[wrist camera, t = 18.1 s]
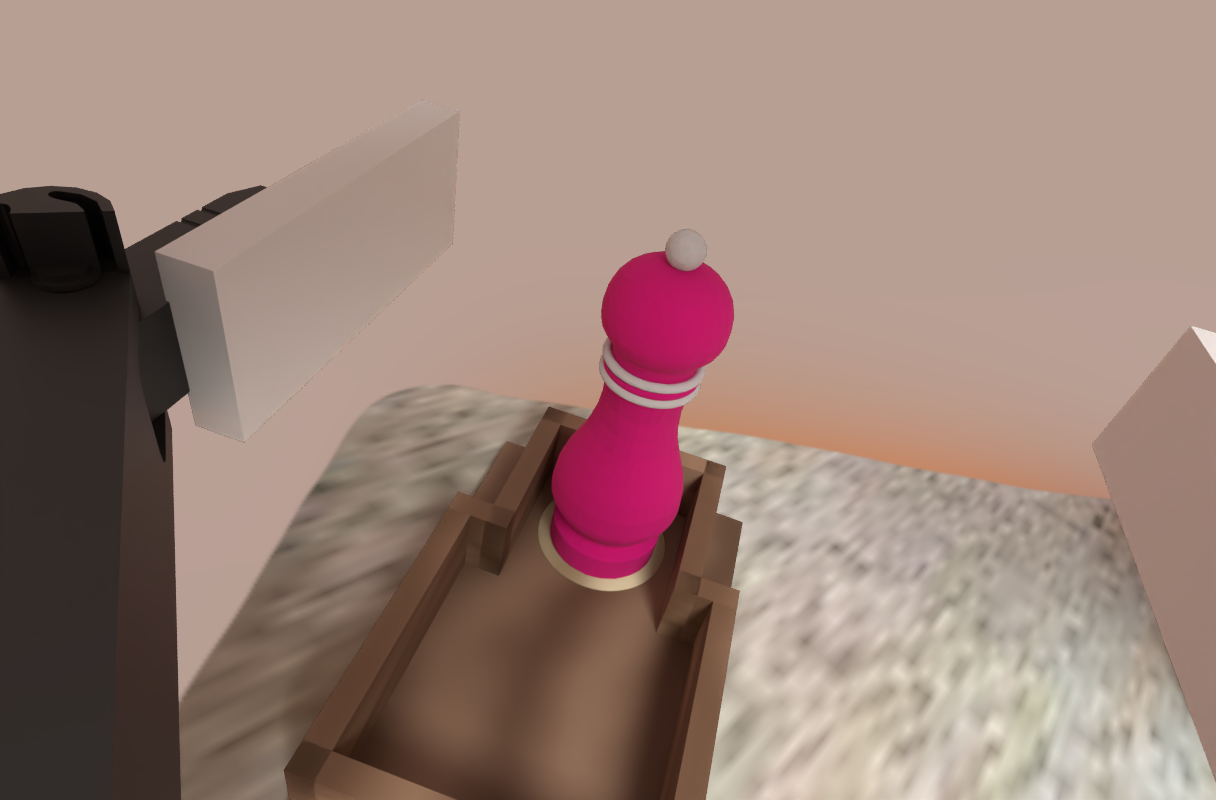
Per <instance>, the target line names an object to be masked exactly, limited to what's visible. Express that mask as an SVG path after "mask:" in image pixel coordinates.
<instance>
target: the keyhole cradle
mask: <svg viewBox="0 0 1216 800" xmlns="http://www.w3.org/2000/svg"><path fill="white" fill-rule="evenodd" d="M586 420H587V419H584V418H581V417H578V416H575V415H572V414H569V413H566V412H563V411H560V410H557V409H554V408H551V407H548V409H547V411H546V412H545V414H544V416H543V418H542V420H541V421H540V423H539V425H538V427H537V429H536V430H535V432H534V434H533V436H532V437H531V439H530V441H529V443H528V445H527V446H526V448H525V447H522V446H519V445H516V444H513V443H510V442H506V444H505V446H504V447H503V449H502V451H501V452H500V454H499V456H498V457H497V459H496V461H495V462H494V464H493V466H492V467H491V469H490V471H489V472H488V474H487V476H486V477H485V479H484V481H483V482H482V484H481V486H480V487H479V489H478V491H477V492H476V494H475V496H474V497H471V496H469V495H466V494H463V493H460V492H458V494H457V495H456V497H455V498H454V500H453V502H452V503H451V505H450V506H449V508H448V509H447V511H446V513H445V514H444V516H443V517H442V519H441V521H440V522H439V524H438V525H437V527H436V529H435V530H434V532H433V533H432V535H431V537H430V538H429V540H428V541H427V543H426V545H425V546H424V548H423V549H422V551H421V553H420V554H419V556H418V557H417V559H416V560H415V562H414V564H413V565H412V567H411V568H410V570H409V572H408V573H407V575H406V576H405V578H404V580H403V581H402V583H401V584H400V586H399V588H398V589H397V591H396V592H395V594H394V596H393V597H392V599H391V600H390V602H389V604H388V605H387V607H386V608H385V610H384V611H383V613H382V615H381V616H380V618H379V619H378V621H377V623H376V624H375V626H374V627H373V629H372V631H371V632H370V634H369V635H368V637H367V639H366V640H365V642H364V643H363V645H362V647H361V648H360V650H359V651H358V653H357V654H356V656H355V658H354V659H353V661H352V662H351V664H350V666H349V667H348V669H347V670H346V672H345V674H344V675H343V677H342V678H341V680H340V682H339V683H338V685H337V686H336V688H335V690H334V691H333V693H332V694H331V696H330V698H329V699H328V701H327V702H326V704H325V705H324V707H323V709H322V710H321V712H320V713H319V715H318V717H317V718H316V720H315V721H314V723H313V725H312V726H311V728H310V729H309V731H308V733H307V734H306V736H305V737H304V739H303V741H302V742H301V744H300V745H299V747H298V748H297V750H296V752H295V753H294V755H293V756H292V758H291V760H290V761H289V763H288V764H287V766H286V768H285V769H284V773H285V778H286V784H287V789H288V794H289V800H706V794H707V788H708V781H709V775H710V769H711V763H712V757H713V751H714V745H715V739H716V732H717V726H718V720H719V714H720V708H721V702H722V696H723V690H724V683H725V677H726V671H727V665H728V659H729V653H730V647H731V641H732V634H733V628H734V622H735V616H736V610H737V604H738V598H739V592H740V591H739V590H736V589H733V588H731V585H732V579H733V574H734V568H735V562H736V557H737V551H738V545H739V540H740V534H741V528H742V523H743V522H740V521H737V520H734V519H732V518H729V517H726V516H723V515H720V514H717V513H716V511H717V506H718V502H719V497H720V493H721V488H722V483H723V479H724V474H725V470H726V466H723V465H720V464H718V463H715V462H712V461H709V460H706V459H703V458H700V457H697V456H694V455H691V454H688V453H685V452H682V451H679V452H680V457H681V462H682V467H683V493H682V498H681V502H680V506H679V510H678V513H677V515H676V517H675V519H674V520H673V522H672V523H671V525H670V526H669V527H668V528H667V529H666V530H665V531H664V532H662V533H661V534H660V535H659V538H658V540H657V543H656V546H655V549H654V552H653V554H652V557H651V558H650V560H649V561H648V563H647V564H646V565H645V566H644V567H643V568H642V569H641V570H639V571H637V572H636V573H634V574H632V575H630V576H626V577H622V578H617V579H602V578H597V577H593V576H589V575H585V574H584V573H582V572H580V571H578V570H576V569H575V568H573V567H571V566H570V565H569V564H568V563H567V562H566V561H564V560H563V559H562V557H561V556H560V555H559V554H558V552H557V551H556V549H555V547H554V545H553V543H552V539H551V535H550V526H551V521H552V516H553V512H554V507H555V504H556V503H555V501H554V497H553V493H552V475H553V471H554V468H555V465H556V463H557V460H558V457H559V454H560V452H561V451H562V449H563V447H564V446H565V444H566V443H567V441H568V440H569V438H570V437H571V436H572V435H573V434H574V433H575V432H576V431H577V430H578V429H579V428H580V427H581V425H582V424H583V423H584V422H585V421H586Z"/></svg>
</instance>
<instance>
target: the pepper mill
mask: <svg viewBox="0 0 1216 800" xmlns="http://www.w3.org/2000/svg"><path fill="white" fill-rule="evenodd" d="M706 253H707V246H706V243H705V240H704V239H703V237H702V236H701V235H700V234H699V233H697V232H696V231H694V230H690V229H683V230H679V231H677V232H675V233H674V234H673V235H672V236H671V237H670V238H669V239H668V241H667V243H666V248H665V251H663V252H652V253H647V254H643V255H641V256H638V257H636V258H633V259H632V260H630V261H629V262H627V263H626V264H625V265H623V266H622V267H621V268H620V269H619V270H618V271H617V273H616V274H615V275H614V277H613V278H612V280H611V281H610V283H609V284H608V287H607V290H606V292H605V295H604V298H603V303H602V310H601V314H602V316H601V318H602V324H603V328H604V330H605V332H606V334H607V336H608V338H607V339H606V341H605V343H604V345H603V355H602V356H601V359H600V363H599V370H600V374H601V376H602V378H603V380H604V387H603V391H602V393H601V396H600V399H599V402H598V404H597V406H596V407H595V409H594V410H593V412H592V414H591V415H590V417H589V418H588V419H587V420H586V421H585V422H584V423H583V424H582V425H581V427H580V428H579V429H578V430H577V431H576V432H575V433H574V434H573V435H572V436H571V437H570V438H569V440H568V441H567V443H566V444H565V446H564V447H563V449H562V451H561V452H560V454H559V457H558V460H557V463H556V465H555V468H554V471H553V475H552V493H553V497H554V501H555V503H556V504H555V507H554V512H553V516H552V521H551V526H550V535H551V539H552V543H553V545H554V547H555V549H556V551H557V552H558V554H559V555H560V556H561V557H562V559H563V560H564V561H566V562H567V563H568V564H569V565H570V566H571V567H573V568H575V569H576V570H578V571H580V572H582V573H584V574H585V575H589V576H593V577H597V578H602V579H617V578H622V577H626V576H630V575H632V574H634V573H636V572H637V571H639V570H641V569H642V568H643V567H644V566H645V565H646V564H647V563H648V561H649V560H650V558H651V557H652V554H653V552H654V549H655V546H656V543H657V540H658V538H659V535H660V534H661V533H662V532H664V531H665V530H666V529H667V528H668V527H669V526H670V525H671V523H672V522H673V520H674V519H675V517H676V515H677V513H678V510H679V506H680V502H681V498H682V493H683V467H682V462H681V457H680V452H679V445H678V425H679V420H680V415H681V411H682V409H683V406H684V405H685V404H687V403H689V402H690V401H692V400H693V399H694V398H695V397H696V395H697V394H698V392H699V389H700V382H701V381H702V380H703V378H704V375H705V370H706V368H705V365H707V364H708V363H710V362H712V361H713V360H714V359H715V358H716V357H717V356H718V355H719V354H720V353H721V352H722V351H723V349H724V348H725V346H726V344H727V341H728V339H729V336H730V333H731V330H732V325H733V320H734V309H733V300H732V297H731V294H730V292H729V289H728V287H727V285H726V284H725V282H724V281H723V280H722V278H721V277H720V276H719V274H718V273H716V272H715V271H714V270H713V269H712V268H711V267H709V266H708V265H706V264H705V263H703V261H704V259H705V257H706Z"/></svg>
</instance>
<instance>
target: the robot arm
mask: <svg viewBox="0 0 1216 800" xmlns="http://www.w3.org/2000/svg"><path fill="white" fill-rule="evenodd" d="M459 119H460V111H459V110H456V109H452V108H449V107H445V106H441V105H438V104H435V103H432V102H428V101H425V100H420V101H418V102H417V103H415V104H413V105H411V106H410V107H408V108H406V109H404V110H403V111H401V112H399V113H397V114H396V115H394V116H392V117H391V118H388V119H387V120H385V121H383V122H381V123H380V124H378V125H376V126H374V127H373V128H371V129H369V130H367V131H366V132H364V133H362V134H361V135H359V136H357V137H355V138H353V139H352V140H350V141H348V142H346V143H345V144H343V145H341V146H339V147H338V148H336V149H334V150H332V151H331V152H329V153H327V154H325V155H324V156H322V157H320V158H318V159H316V160H315V161H313V162H311V163H310V164H308V165H306V166H304V167H302V168H301V169H299V170H297V171H295V172H294V173H292V174H290V175H288V176H287V177H285V178H283V179H281V180H280V181H278V182H276V183H274V184H273V185H271V186H269V187H264V186H261V185H260V186H257V187H252V188H248V189H244V190H240V191H236V192H232V193H228V194H226V195H224V196H222V197H220V198H218V199H216V200H214V201H213V202H211V203H209V204H207V205H205V206H203V207H202V210H201V211H199V210H196V211H194V212H192V213H190V214H189V215H187V216H185V217H183V218H182V221H181V222H178V221H176V222H174V223H172V224H170V225H168V226H167V227H165V228H163V229H161V230H159V231H157V232H155V233H154V234H152V235H150V236H148V237H146V238H144V239H143V240H141V241H139V242H137V243H135V244H134V245H132V246H130V247H128V248H126V249H124V245H123V242H122V238H121V234H120V230H119V227H118V223H117V219H116V215H115V211H114V209H113V206H112V204H111V202H110V200H108V199H106V198H104V197H103V196H101V195H100V194H98V193H95V192H92V191H87V190H84V189H80V188H75V187H74V188H73V187H58V186H45V187H34V188H23V189H19V190H16V191H11V192H7V193H3V194H0V800H181V782H180V741H179V701H178V660H177V623H176V622H177V621H176V620H177V619H176V579H175V540H174V539H175V538H174V500H173V499H174V497H173V456H172V428H171V423H170V419H169V416H168V412H167V409H169V408H170V407H171V406H172V405H174V404H175V403H176V402H177V401H179V400H180V399H181V398H182V397H183V396H185V395H186V394H187V393H188V396H189V400H190V404H191V409H192V413H193V417H194V421H195V425H196V426H199V427H202V428H204V429H207V430H210V431H213V432H216V433H218V434H221V435H224V436H227V437H230V438H233V439H235V440H238V441H241V442H244V443H245V442H246V441H247V440H248V439H249V438H250V437H251V436H252V435H253V434H254V433H255V432H256V431H257V430H258V429H259V428H260V427H261V426H262V425H264V424H265V423H266V422H267V421H268V420H269V419H270V418H271V417H272V416H273V415H274V414H275V413H276V412H277V411H278V410H279V409H280V408H281V407H282V406H283V405H284V404H285V403H286V402H288V401H289V400H290V399H291V398H292V397H293V396H294V395H295V394H296V393H297V392H298V391H299V390H300V389H301V388H302V387H303V386H304V385H305V384H307V383H308V382H309V381H310V379H312V378H313V377H314V376H315V375H316V374H317V373H318V372H319V371H320V370H321V369H322V368H323V367H324V366H325V365H326V364H327V363H328V362H329V361H331V360H332V359H333V358H334V357H335V356H336V355H337V354H338V353H339V352H340V351H341V350H342V349H343V348H344V347H345V346H346V345H347V344H348V343H349V342H350V341H351V340H352V339H354V338H355V337H356V336H357V335H358V334H359V333H360V332H361V331H362V330H363V329H364V328H365V327H366V326H367V325H368V324H369V323H370V322H371V321H372V320H373V319H374V318H376V316H378V315H379V314H380V313H381V312H382V311H383V310H384V309H385V308H386V307H387V306H388V305H389V304H390V303H391V302H392V301H393V300H394V299H395V298H396V297H398V296H399V295H400V294H401V293H402V292H403V291H404V290H405V289H406V288H407V287H408V286H409V285H410V284H411V283H412V282H413V281H414V280H415V279H416V278H417V277H418V276H419V275H420V274H422V273H423V272H424V271H425V270H426V269H427V268H428V267H429V266H430V265H431V264H432V263H433V262H434V261H435V260H436V259H437V258H438V257H439V256H440V255H441V254H443V253H444V252H445V251H446V250H447V249H448V248H449V247H450V246H451V245H452V244H453V231H454V212H455V194H456V174H457V157H458V138H459ZM1092 446H1093V449H1094V452H1095V454H1096V457H1097V460H1098V463H1099V465H1100V468H1101V471H1102V473H1103V476H1104V479H1105V482H1106V484H1107V487H1108V490H1109V493H1110V495H1111V498H1112V501H1113V504H1114V506H1115V509H1116V512H1117V514H1118V517H1119V520H1120V523H1121V525H1122V528H1123V531H1124V534H1125V536H1126V539H1127V542H1128V544H1129V547H1130V550H1131V553H1132V555H1133V558H1134V561H1135V564H1136V566H1137V569H1138V572H1139V574H1140V577H1141V580H1142V583H1143V585H1144V588H1145V591H1146V593H1147V596H1148V599H1149V602H1150V604H1151V607H1152V610H1153V613H1154V615H1155V618H1156V621H1157V623H1158V626H1159V629H1160V632H1161V634H1162V637H1163V640H1164V643H1165V645H1166V648H1167V651H1168V653H1169V656H1170V659H1171V662H1172V664H1173V667H1174V670H1175V673H1176V675H1177V678H1178V681H1179V683H1180V686H1181V689H1182V692H1183V694H1184V697H1185V700H1186V703H1187V705H1188V708H1189V711H1190V713H1191V716H1192V719H1193V722H1194V724H1195V727H1196V730H1197V733H1198V735H1199V738H1200V741H1201V743H1202V746H1203V749H1204V752H1205V754H1206V757H1207V760H1208V762H1209V765H1210V768H1211V771H1212V773H1213V776H1214V779H1215V782H1216V333H1213V332H1210V331H1206V330H1203V329H1200V328H1196V327H1193V326H1190V327H1189V328H1188V330H1187V331H1186V332H1185V333H1184V334H1183V336H1182V337H1181V338H1180V339H1179V340H1178V342H1177V343H1176V344H1175V345H1174V346H1173V348H1172V349H1171V350H1170V351H1169V352H1168V354H1167V355H1166V356H1165V357H1164V359H1163V360H1162V361H1161V362H1160V363H1159V365H1158V366H1157V367H1156V368H1155V369H1154V371H1153V372H1152V373H1151V374H1150V375H1149V376H1148V378H1147V379H1146V380H1145V381H1144V382H1143V384H1142V385H1141V386H1140V387H1139V388H1138V390H1137V391H1136V392H1135V393H1134V394H1133V396H1132V397H1131V398H1130V399H1129V401H1128V402H1127V403H1126V404H1125V405H1124V407H1123V408H1122V409H1121V410H1120V411H1119V413H1118V414H1117V415H1116V416H1115V417H1114V419H1113V420H1112V421H1111V422H1110V423H1109V425H1108V426H1107V427H1106V428H1105V429H1104V431H1103V432H1102V433H1101V434H1100V435H1099V437H1098V438H1097V439H1096V440H1095V441H1094V443H1093V444H1092Z"/></svg>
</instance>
